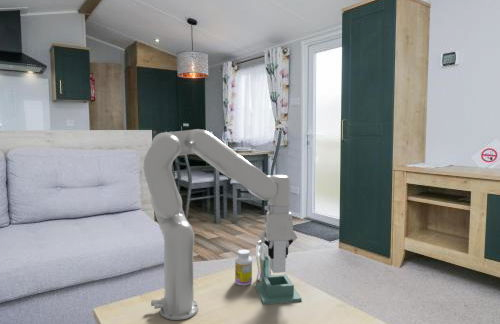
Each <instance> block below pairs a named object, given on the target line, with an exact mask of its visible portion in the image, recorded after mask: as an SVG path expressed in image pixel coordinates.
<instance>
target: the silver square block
mask: <svg viewBox="0 0 500 324" xmlns="http://www.w3.org/2000/svg"><path fill="white" fill-rule="evenodd" d="M286 259H287V258H286V241H273V259H271V263H270V268H271V272H272V273H273V274H277V273H286V266H287V265H286V261H287V260H286Z"/></svg>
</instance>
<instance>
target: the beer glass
mask: <svg viewBox="0 0 500 324" xmlns="http://www.w3.org/2000/svg"><path fill="white" fill-rule="evenodd" d="M255 246H256V247H255V261H256V266H257V275H256V280H257V281H258V282H261V283H262V276H271V275H272V270H271V268H270V263H271V258H270V256H268V246H267V245H266V244H265V243H263V242H262V241H260V240H259V241H257V242H256V245H255Z"/></svg>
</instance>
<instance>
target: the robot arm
mask: <svg viewBox="0 0 500 324" xmlns="http://www.w3.org/2000/svg"><path fill="white" fill-rule="evenodd" d="M193 154H195V155H196V156H198V157H199V158H200V159H202V160H203V161H204V162H206V163H207V164H209V165H210V166H211V167H213V168H215V169H216V170H217V171H218V172H219V173H221V174H223V175H224V176H226V177H227V178H228V179H231V180H233V181H234V182H237V183H239V184H240V185H242V186H244V187H245V188H246V190H247V191H248V192H249V194H251V195H253V196H254V197H257V198H259V199H260V200H263V201H268V203H267V205H265V206H264V210H265V211H267V212H266V214H265V218H264V219H265V220H264V221H265V222H264V228H263V229H264V230H263V232H262V233H261V234H260V236H259V237H258V239H259V241H262V242H263V243H265V244H266V245H267V246H268V256H270V258H271V259H273V241H286V259H287V258H288V254H289V248H290V245H291V244H293V242H294V241H296V240H297V239H298V236H297V234H296V233H295V232H294V222H293V214H292V212H291V211H290V199H291V198H290V197H291V196H290V192H291V191H290V190H291V179H290V177H289V176H288V175H285V174H273V175H267V174H266V173H265V172H263V171H262V170H261V169H259V168H258V167H257V166H255V165H253V164H252V163H251V162H249V160H247V159H245V158H244V157H243V156H242V155H240V154H238V153H237V152H236V151H235V150H233V149H232V148H231V147H229V146H228V145H227V144H225V143H224V142H223V141H222V140H221V139H219V138H218V137H217V136H215V135H214V134H213V133H211V132H209V131H208V130H205V129H200V128H196V129H195V128H194V129H187V130H179V131H178V130H177V131H168V132H167V131H166V132H160V133H158V134H156V135H155V136H154V137H153V138H152V141H151V146H150V147H149V148H148V149H147V152H146V153H145V156H144V159H143V160H144V161H143V173H144V174H143V175H144V177H145V181H146V184H147V187H148V188H147V189H148V191H149V194H150V202H151V203H150V204H151V207H152V209H153V212H154V215H155V217H156V220H157V223H158V225H159V229H160V231H161V234H162V237H163V241H164V243H163V268H164V269H163V270H164V272H163V273H164V279H163V280H164V295H163V297H162V298H160V299H151V300H150V303H151V305H150V306H151V307H154V308H153V309H154V310H155V309H156V310H157V309H160V310H159V311H160V312H159V313H160V316H161V317H163V318H164V319H167V320H170V321H181V320H186V319H190V318H191V317H193V316H195V315H196V314H197V313H198V311H199V304H198V302H197V301H195V299H194V296H195V294H194V292H195V291H194V247H195V232H194V229H193V226H192V225H191V223H189V221H188V220H187V217H186V215H185V212H184V209H183V199H182V196H181V194H180V192H179V190H178V186H177V184H176V181H175V176H174V173H173V169H172V168H173V162H174V161H175V159H176V158H178V156H185V155H186V156H187V155H193ZM265 238H266V239H265Z"/></svg>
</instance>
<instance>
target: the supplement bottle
mask: <svg viewBox="0 0 500 324" xmlns="http://www.w3.org/2000/svg"><path fill="white" fill-rule="evenodd" d="M250 255H251V254H250V250H249V249H239V250H237V257H236V258H235V260H234V261H235V264H234V265H235V266H234V267H235V268H234V269H235V270H234V271H235V272H234V275H235V276H234V280H235V281H234V282H235V283H236V285H238V286H242V287H244V286H249V285H250V284H252V281H253V259H252V257H251V256H250Z"/></svg>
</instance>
